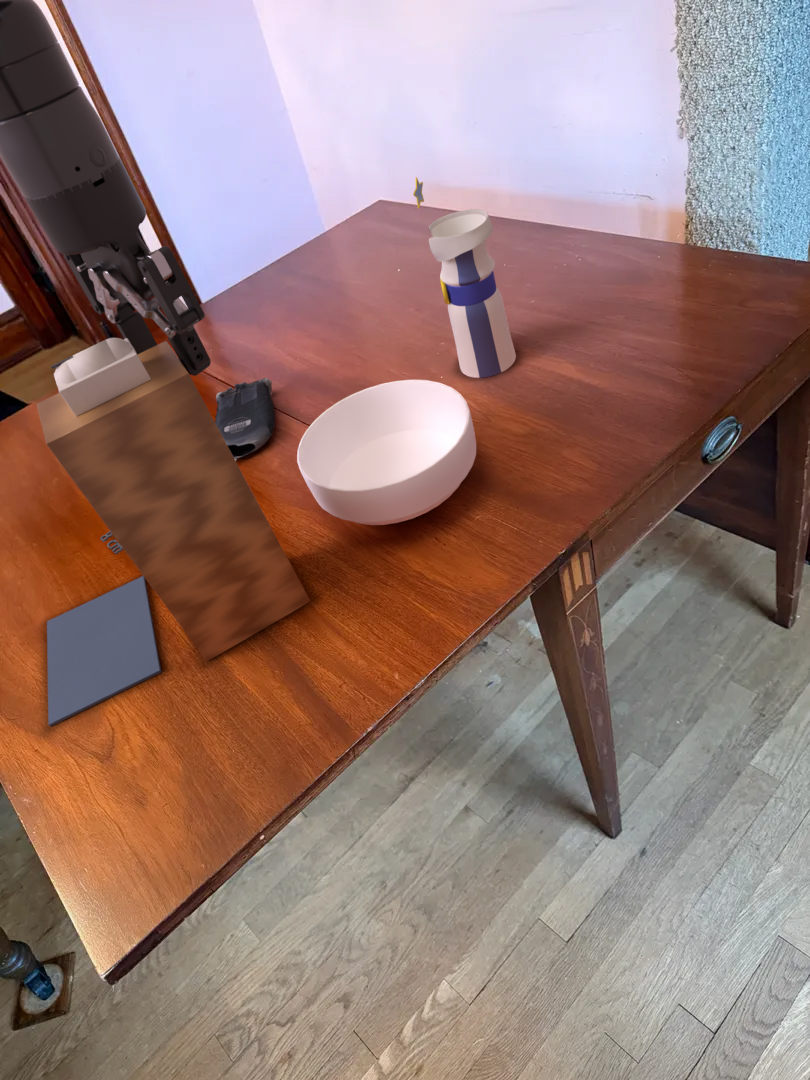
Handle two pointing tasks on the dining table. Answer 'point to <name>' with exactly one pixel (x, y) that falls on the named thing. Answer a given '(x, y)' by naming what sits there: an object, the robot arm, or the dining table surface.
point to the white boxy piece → (99, 374)
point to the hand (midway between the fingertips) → (173, 362)
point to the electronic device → (246, 416)
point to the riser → (178, 504)
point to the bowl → (389, 451)
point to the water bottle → (471, 291)
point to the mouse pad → (100, 650)
